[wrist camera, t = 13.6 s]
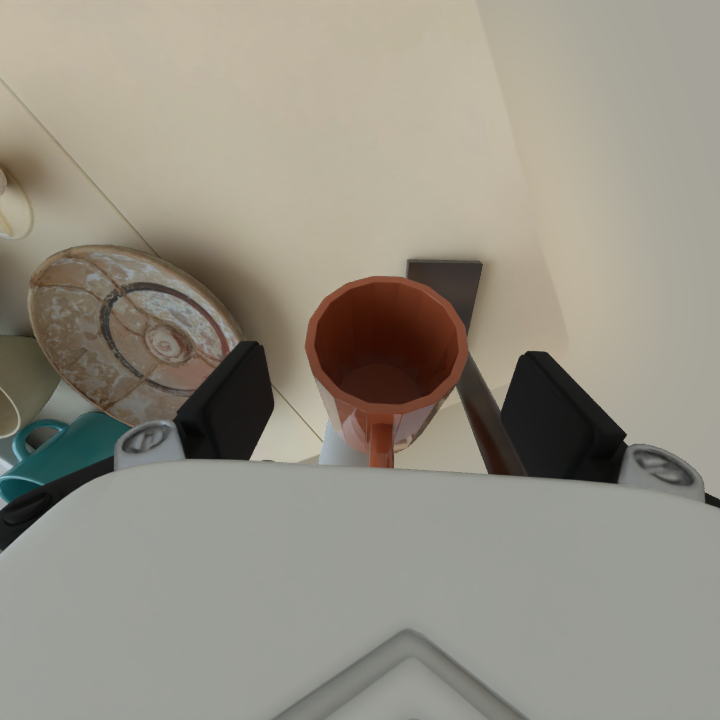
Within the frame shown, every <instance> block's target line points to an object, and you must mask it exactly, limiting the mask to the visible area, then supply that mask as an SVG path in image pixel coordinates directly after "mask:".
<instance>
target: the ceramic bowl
mask: <svg viewBox="0 0 720 720" xmlns="http://www.w3.org/2000/svg"><path fill="white" fill-rule="evenodd" d="M27 308H28V314H29V319H30V323H31V327H32V330H33V333H34V335H35V337H36V339H37V341H38V343H39V346H40V347H41V349H42V351H43V353H44V354H45V356H46V358H47V359H48V361H49V362H50V364H51V365H52V366H53V368H54V369H55V370H56V371H57V373H58V374H59V375H60V376H61V377H62V378H63V379H64V380H65V381H66V382H67V384H69V385H70V386H71V387H72V388H73V389H74V390H75V391H77V392H78V393H79V394H80V395H81V396H82V397H83V398H85V399H86V400H87V401H89V402H90V403H91V404H93V405H94V406H96V407H97V408H99V409H100V410H102V411H103V412H104V413H106V414H108V415H109V416H111V417H113V418H115V419H117V420H119V421H120V422H123V423H125V424H127V425H129V426H131V427H135V426H137V425H139V424H142V423H144V422H147V421H151V420H157V419H166V420H170V421H172V420H173V419H174V418H175V417H176V416H177V413H176V412H177V410H178V409H179V408H180V407H181V406H182V405H183V404H184V403H185V402H186V401H187V399H188V398H189V397H190V396H191V395H192V394H193V393H194V392H195V391H196V390H197V388H198V387H199V386H200V385H201V384H202V383H203V382H204V381H205V380H206V378H207V377H208V376H209V375H210V374H211V373H212V372H213V371H214V370H215V369H216V367H217V366H218V365H219V364H220V363H221V362H222V361H223V360H224V359H225V358H226V356H227V355H228V354H229V353H230V352H231V351H232V350H233V349H234V348H235V346H236V345H237V344H238V343H239V342H240V341H247V340H246V337H245V335H244V334H243V332H242V330H241V328H240V326H239V325H238V323H237V322H236V320H235V318H234V317H233V316H232V315H231V313H230V312H229V311H228V309H227V308H226V307H225V306H224V305H223V303H222V302H221V301H220V300H219V299H218V298H217V297H216V296H215V295H214V294H213V293H212V292H211V291H210V290H209V289H208V288H207V287H205V286H204V285H203V284H202V283H200V282H199V281H198V280H196V279H195V278H193V277H192V276H191V275H189V274H188V273H186V272H185V271H183V270H181V269H180V268H178V267H176V266H174V265H173V264H171V263H169V262H167V261H165V260H162V259H160V258H158V257H155V256H153V255H150V254H147V253H144V252H141V251H138V250H135V249H131V248H127V247H121V246H114V245H84V246H77V247H72V248H69V249H65V250H62V251H60V252H57V253H55V254H54V255H52V256H50V257H49V258H47V259H46V260H45V261H44V262H43V263H42V264H41V265H40V266H39V267H38V268H37V270H36V271H35V272H34V274H33V275H32V277H31V280H30V285H29V290H28V297H27Z"/></svg>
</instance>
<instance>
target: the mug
mask: <svg viewBox="0 0 720 720" xmlns="http://www.w3.org/2000/svg"><path fill="white" fill-rule="evenodd" d="M305 350H306V353H307V357H308V360H309V363H310V367H311V370H312V373H313V376H314V379H315V381H316V384H317V387H318V389H319V392H320V394H321V397H322V400H323V402H324V405H325V408H326V410H327V413H328V416H329V418H330V421H331V423H332V426H333V428H334V430H335V431H336V433H337V434H338V435H339V437H340V438H341V439H342V440H343V441H344V442H345V443H346V444H347V445H349V446H350V447H351V448H353V449H355V450H356V451H359V452H361V453H364V454H368V455H369V463H368V467H378V468H394V453H397V452H399V451H402V450H404V449H405V448H407V447H409V446H410V445H411V444H412V443H413V442H414V441H415V440H416V439H417V438H418V437H419V436H420V435H421V434H422V432H423V431H424V430H425V428H426V427H427V425H428V424H429V423H430V421H431V420H432V418H433V417H434V416H435V414H436V413H437V411H438V410H439V409H440V407H441V406H442V404H443V403H444V401H445V400H446V399H447V397H448V396H449V394H450V393H451V392H452V390H453V389H454V387H455V386H456V385H457V383H458V382H459V380H460V377H461V374H462V372H463V369H464V366H465V363H466V360H467V357H468V353H469V352H468V345H467V337H466V330H465V325H464V324H463V322H462V321H461V319H460V317H459V316H458V314H457V313H456V311H455V309H454V308H453V306H452V305H451V303H450V302H449V301H447V300H446V299H445V298H443V297H442V296H441V295H439V294H438V293H437V292H435V291H434V290H433V289H431V288H430V287H429V286H427V285H424V284H421V283H418V282H415V281H412V280H409V279H406V278H403V277H389V276H371V277H368V278H364V279H360V280H357V281H353V282H349V283H347V284H345V285H343V286H342V287H340V288H339V289H337V290H336V291H334V292H333V293H331V294H330V295H328V296H327V297H326V298H325V299H323V301H322V302H321V304H320V305H319V307H318V308H317V310H316V311H315V313H314V314H313V315H312V317H311V318H310V321H309V324H308V330H307V336H306V342H305Z"/></svg>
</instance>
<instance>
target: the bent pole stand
mask: <svg viewBox="0 0 720 720" xmlns="http://www.w3.org/2000/svg"><path fill="white" fill-rule="evenodd" d="M482 266H483V264H482V263H481V262H480V261H454V260H407V271H406V279H409V280H412V281H415V282H418V283H421V284H424V285H427V286H429V287H430V288H431V289H433V290H434V291H435V292H437V293H438V294H439V295H441V296H442V297H443V298H445V299H446V300H447V301H449V302H450V303H451V305H452V306H453V308H454V309H455V311H456V313H457V314H458V316H459V317H460V319H461V321H462V322H463V324H464V325H465V330H466V337H467V335H468V330H469V326H470V321H471V317H472V312H473V307H474V303H475V298H476V293H477V289H478V284H479V279H480V275H481V270H482ZM468 352H469V351H468ZM456 388H457V391H458V393H459V396H460V399H461V402H462V404H463V407H464V410H465V412H466V415H467V417H468V420H469V423H470V426H471V428H472V431H473V434H474V436H475V439H476V442H477V444H478V447H479V450H480V452H481V455H482V458H483V460H484V463H485V466H486V469H487V471H488V474H492V475H508V476H523V477H528V475H527V473H526V471H525V469H524V467H523V465H522V463H521V461H520V459H519V457H518V455H517V453H516V451H515V449H514V446H513V444H512V442H511V440H510V438H509V436H508V434H507V432H506V430H505V428H504V426H503V424H502V422H501V418H500V414H501V411H500V409H499V407H498V405H497V403H496V401H495V400H494V398H493V396H492V394H491V392H490V390H489V388H488V386H487V384H486V383H485V381H484V379H483V377H482V375H481V373H480V371H479V369H478V367H477V366H476V364H475V362H474V360H473V358H472V356H471V354H470V352H469V353H468V357H467V360H466V363H465V366H464V369H463V372H462V374H461V377H460V380H459V382H458V383H457V385H456ZM262 461H268V462H275V461H272V460H262Z"/></svg>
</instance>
